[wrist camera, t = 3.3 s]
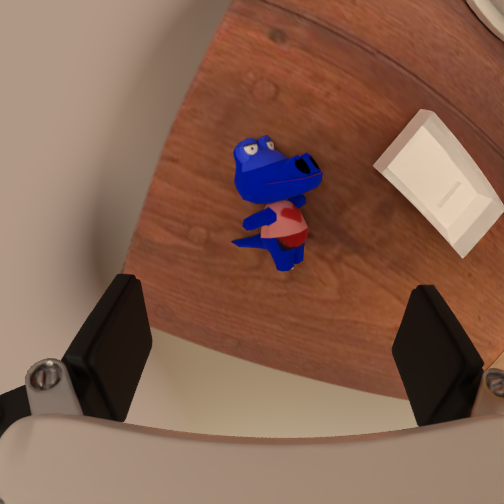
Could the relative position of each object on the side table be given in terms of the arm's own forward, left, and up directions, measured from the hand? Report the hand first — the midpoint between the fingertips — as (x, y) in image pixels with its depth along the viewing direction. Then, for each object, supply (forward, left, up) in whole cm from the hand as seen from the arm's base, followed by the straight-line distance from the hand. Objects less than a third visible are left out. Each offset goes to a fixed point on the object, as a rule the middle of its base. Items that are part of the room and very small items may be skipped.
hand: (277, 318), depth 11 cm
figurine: (+3, -2, -9) cm, 10 cm away
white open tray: (+7, +9, -9) cm, 14 cm away
